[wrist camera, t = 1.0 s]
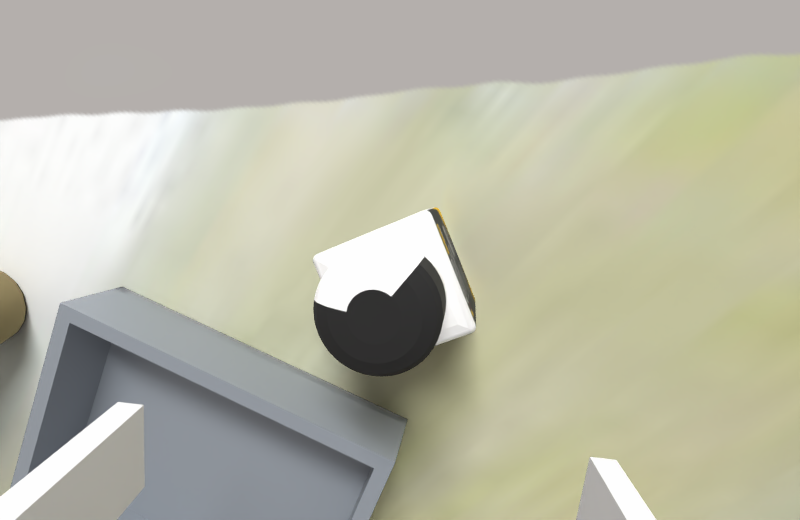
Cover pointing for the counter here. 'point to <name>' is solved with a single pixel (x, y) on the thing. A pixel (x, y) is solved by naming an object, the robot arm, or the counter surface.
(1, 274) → the squeeze bottle
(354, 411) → the grey box
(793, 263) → the counter surface
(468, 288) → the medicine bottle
